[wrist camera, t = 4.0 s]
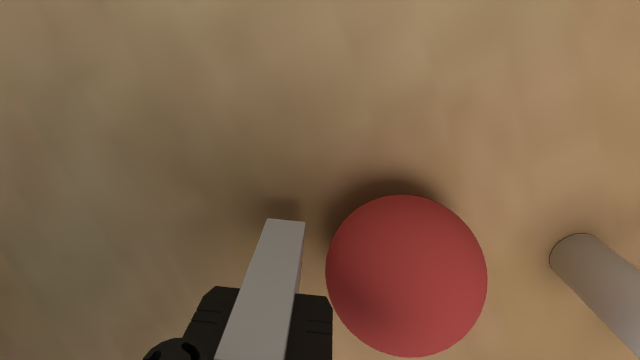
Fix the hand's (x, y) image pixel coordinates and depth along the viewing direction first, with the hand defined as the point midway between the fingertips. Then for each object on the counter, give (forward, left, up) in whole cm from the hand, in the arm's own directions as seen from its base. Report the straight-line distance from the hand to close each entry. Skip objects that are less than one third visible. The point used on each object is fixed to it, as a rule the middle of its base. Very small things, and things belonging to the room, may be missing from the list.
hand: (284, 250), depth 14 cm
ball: (+5, 0, 0) cm, 5 cm away
